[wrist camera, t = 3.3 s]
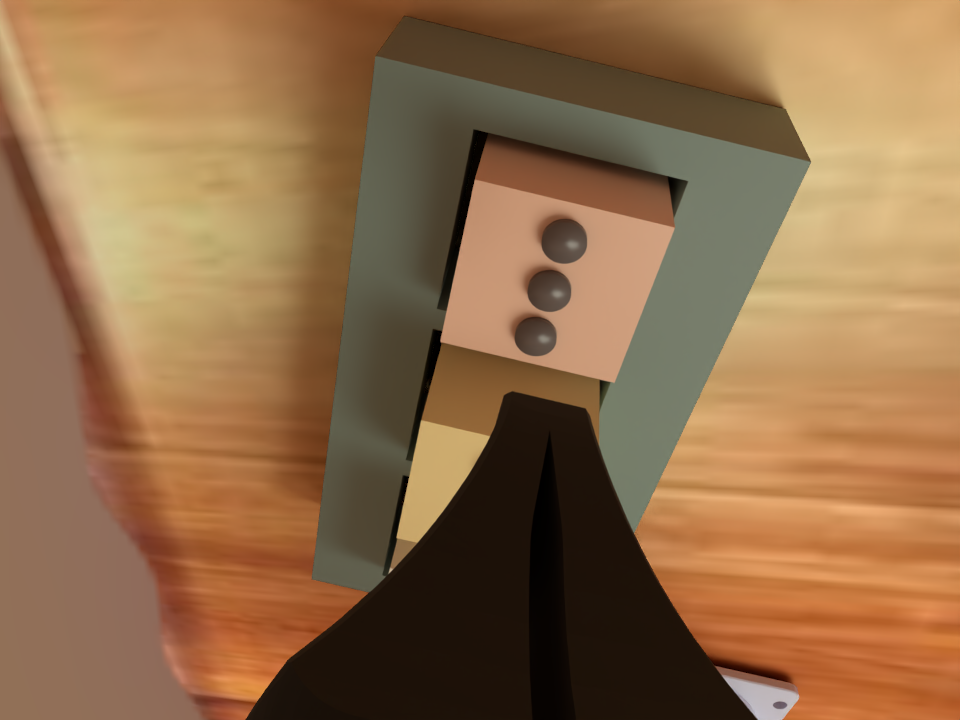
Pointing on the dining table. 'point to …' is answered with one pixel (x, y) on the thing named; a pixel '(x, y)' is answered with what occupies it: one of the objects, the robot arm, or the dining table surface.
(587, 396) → the toy block
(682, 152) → the toy block sorting board
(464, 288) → the toy block
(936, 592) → the dining table surface
